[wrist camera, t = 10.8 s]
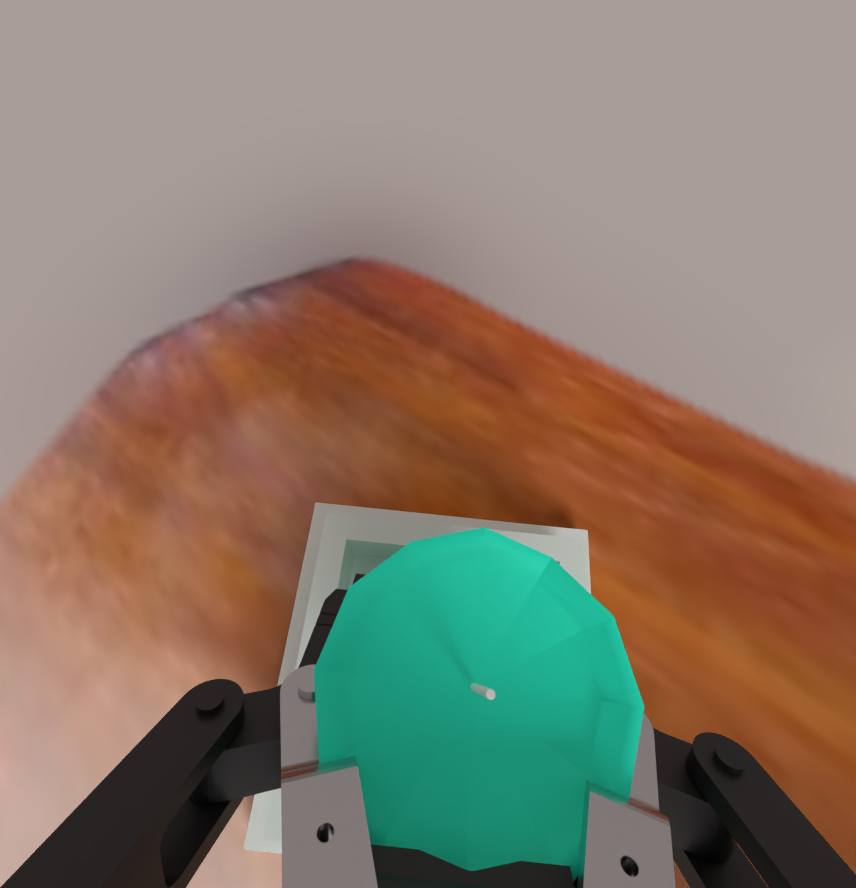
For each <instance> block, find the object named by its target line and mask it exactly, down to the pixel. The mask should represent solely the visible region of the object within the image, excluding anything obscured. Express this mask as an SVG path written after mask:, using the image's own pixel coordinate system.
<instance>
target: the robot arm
mask: <svg viewBox="0 0 856 888" xmlns="http://www.w3.org/2000/svg"><path fill="white" fill-rule="evenodd" d="M365 575H366V574H358V573H356V575H355V578H354V581H353V584H354V583H355V582H357V581H358V580H360V579H361V578H362V577H364V576H365ZM353 584H352V585H353ZM346 593H347V590H345V589H335V590H334V591H333V592H332V593H331V594H330V595H329V596H328V597H327V598H326V599H325V601H324V603H323V606H322V608H321V611H320V615H319V616H318V619H317V621H316V625H315V626H314V629H313V632H312V634H311V637H310V639H309V642H308V644H307V647H306V650H305V652H304V655H303V657H302V660H301V663H300V665H299V667H298V669H296V670H294V671H293V672H291V673H290V674H289V675H288V676H287V677H286V678H285V680H284V681H283V683H282V684H281V685H279V686H277V687H274V688H272V689H268V690H263V691H258V692H252V693H247V694H243V691H242V689H241V687H240V686H239V685H238V684H237V683H235V682H233V681H231V680H227V679H215V680H210V681H206V682H204V683H201V684H199V685H197V686H195V687H194V688H192V689H191V690H190V691H188V692H187V693H186V694H185V695H184V696H183V697H182V698H181V699H180V700H179V701H178V702H177V703H176V705H175V706H174V707H173V708H172V709H171V710H170V711H169V712H168V713H167V714H166V715H165V716H164V717H163V718H162V719H161V720H160V721H159V722H158V723H157V724H156V725H155V726H154V728H153V729H152V730H151V731H150V732H149V733H148V734H147V735H146V736H145V737H144V738H143V739H142V740H141V741H140V742H139V743H138V744H137V745H136V746H135V747H134V748H133V749H132V751H131V752H130V753H129V754H128V755H127V756H126V757H125V758H124V759H123V760H122V761H121V762H120V763H119V764H118V765H117V766H116V767H115V768H114V769H113V770H112V771H111V772H110V774H109V775H108V776H107V777H106V778H105V779H104V780H103V781H102V782H101V783H100V784H99V785H98V786H97V787H96V788H95V789H94V790H93V791H92V792H91V793H90V794H89V795H88V797H87V798H86V799H85V800H84V801H83V802H82V803H81V804H80V805H79V806H78V807H77V808H76V809H75V810H74V811H73V812H72V813H71V814H70V815H69V816H68V817H67V818H66V820H65V821H64V822H63V823H62V824H61V825H60V826H59V827H58V828H57V829H56V830H55V831H54V832H53V833H52V834H51V835H50V836H49V837H48V838H47V839H46V840H45V841H44V843H43V844H42V845H41V846H40V847H39V848H38V849H37V850H36V851H35V852H34V853H33V854H32V855H31V856H30V857H29V858H28V859H27V860H26V861H25V862H24V863H23V864H22V866H21V867H20V868H19V869H18V870H17V871H16V872H15V873H14V874H13V875H12V876H11V877H10V878H9V879H8V880H7V881H6V882H5V883H4V884H3V885H2V886H1V887H0V888H186V886H187V885H188V883H189V882H190V880H191V879H192V877H193V876H194V874H195V872H196V871H197V869H198V868H199V866H200V865H201V863H202V862H203V860H204V858H205V857H206V855H207V854H208V852H209V851H210V849H211V848H212V846H213V845H214V843H215V841H216V840H217V838H218V837H219V835H220V834H221V832H222V831H223V829H224V828H225V826H226V824H227V823H228V821H229V820H230V818H231V817H232V815H233V814H234V812H235V810H236V809H237V807H238V806H239V804H240V803H241V801H242V800H243V798H244V797H246V796H250V795H255V794H259V793H263V792H267V791H271V790H275V789H279V788H281V821H282V888H676V887H675V875H674V864H673V859H674V861H675V862H676V864H677V866H678V867H679V869H680V871H681V872H682V874H683V876H684V878H685V879H686V881H687V883H688V884H689V886H690V888H768V887H769V888H856V875H855V874H854V872H853V871H852V870H851V869H850V868H849V867H848V866H847V864H846V863H845V862H844V861H843V860H842V859H841V857H840V856H839V855H838V854H837V853H836V852H835V851H834V849H833V848H832V847H831V846H830V845H829V844H828V842H827V841H826V840H825V839H824V838H823V837H822V836H821V834H820V833H819V832H818V831H817V830H816V829H815V828H814V826H813V825H812V824H811V823H810V822H809V821H808V819H807V818H806V817H805V816H804V815H803V814H802V813H801V811H800V810H799V809H798V808H797V807H796V806H795V805H794V803H793V802H792V801H791V800H790V799H789V798H788V796H787V795H786V794H785V793H784V792H783V791H782V790H781V788H780V787H779V786H778V785H777V784H776V783H775V782H774V780H773V779H772V778H771V777H770V776H769V775H768V773H767V772H766V771H765V770H764V769H763V768H762V767H761V765H760V764H759V763H758V762H757V761H756V760H755V758H754V757H753V756H752V755H751V754H750V753H749V752H748V751H747V750H745V749H744V748H743V747H742V746H740V745H739V744H738V743H736V742H734V741H733V740H731V739H729V738H727V737H725V736H722V735H720V734H716V733H709V732H708V733H701V734H699V735H697V736H696V737H695V739H694V741H693V743H692V744H690V743H687V742H685V741H682V740H680V739H677V738H674V737H672V736H669V735H667V734H664V733H662V732H660V731H658V730H656V729H654V728H653V727H652V724H651V722H650V720H649V719H648V717H647V716H646V715H645V714H644V713H643V719H642V725H641V731H640V737H639V743H638V749H637V755H636V761H635V767H634V773H633V779H632V785H631V791H630V797H629V798H626V797H624V796H622V795H620V794H617V793H615V792H613V791H610V790H608V789H606V788H603V787H601V786H599V785H596V784H594V783H592V782H590V781H588V780H587V779H586V788H585V798H584V809H583V820H582V831H581V839H580V846H579V851H580V862H579V875H578V876H577V878H576V879H575V881H574V882H573V878H572V874H571V869H570V866H563V865H554V864H545V863H536V862H527V861H518V862H513V863H509V864H504V865H500V866H495V867H490V868H486V869H481V870H477V871H469V870H465V869H463V868H461V867H458V866H456V865H454V864H452V863H449V862H447V861H445V860H442V859H440V858H438V857H435V856H433V855H431V854H428V853H426V852H424V851H421V850H418V849H409V848H400V847H391V846H381V845H372V844H371V843H370V837H369V831H368V825H367V819H366V813H365V807H364V801H363V795H362V789H361V783H360V777H359V770H358V765H357V761H356V758H355V756H350V757H347V758H342V759H338V760H334V761H329V762H325V763H320V764H319V753H318V736H317V719H316V702H315V685H314V668H315V666H316V664H317V661H318V659H319V657H320V654H321V652H322V650H323V647H324V645H325V642H326V640H327V638H328V635H329V633H330V631H331V628H332V626H333V624H334V621H335V619H336V616H337V614H338V612H339V609H340V607H341V605H342V602H343V600H344V598H345V595H346ZM737 843H738V844H739V846H740V847H741V849H742V850H743V852H744V853H745V854H746V856H747V857H748V859H749V860H750V861H751V863H752V864H753V866H754V867H755V868H756V870H757V871H758V873H759V874H760V875H761V877H762V878H763V880H764V881H765V882H766V884H767V885H768V887H767V886H766V884H765V883H764V881H763V880H762V879H761V877H760V876H759V874H758V873H757V872H756V870H755V869H754V867H753V866H752V865H751V863H750V862H749V860H748V859H747V858H746V856H745V855H744V853H743V852H742V850H741V849H740V848H739V846H738V845H737Z"/></svg>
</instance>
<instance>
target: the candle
mask: <svg viewBox="0 0 856 888" xmlns="http://www.w3.org/2000/svg"><path fill="white" fill-rule="evenodd" d="M314 685H315V702H316V719H317V736H318V753H319V764H320V763H325V762H329V761H334V760H338V759H342V758H347V757H350V756H355V758H356V761H357V765H358V770H359V777H360V783H361V789H362V795H363V801H364V807H365V813H366V819H367V825H368V831H369V837H370V843H371V844H372V845H381V846H391V847H400V848H409V849H418V850H421V851H424V852H426V853H428V854H431V855H433V856H435V857H438V858H440V859H442V860H445V861H447V862H449V863H452V864H454V865H456V866H458V867H461V868H463V869H465V870H469V871H477V870H481V869H486V868H490V867H495V866H500V865H504V864H509V863H513V862H518V861H527V862H536V863H545V864H554V865H563V866H570V869H571V874H572V878H573V882H574V881H575V879H576V878H577V876H578V875H579V862H580V851H579V846H580V839H581V831H582V820H583V809H584V798H585V788H586V779H587V780H588V781H590V782H592V783H594V784H596V785H599V786H601V787H603V788H606V789H608V790H610V791H613V792H615V793H617V794H620V795H622V796H624V797H626V798H629V797H630V791H631V785H632V779H633V773H634V767H635V761H636V755H637V749H638V743H639V737H640V731H641V725H642V719H643V712H644V704H643V701H642V698H641V695H640V692H639V689H638V686H637V683H636V680H635V677H634V675H633V672H632V669H631V666H630V663H629V660H628V657H627V654H626V651H625V648H624V645H623V642H622V639H621V636H620V633H619V630H618V627H617V624H616V621H615V618H614V616H613V615H612V614H611V613H610V612H609V611H608V610H607V609H606V608H605V607H604V606H603V605H602V604H601V603H599V602H598V601H597V600H596V599H595V598H594V597H593V596H592V595H591V594H590V593H589V592H588V591H587V590H586V589H585V588H584V587H583V586H582V585H581V584H579V583H578V582H577V581H576V580H575V579H574V578H573V577H572V576H571V575H570V574H569V573H568V572H567V571H566V570H565V569H564V568H563V567H562V566H561V565H560V564H558V563H557V562H556V561H555V560H554V559H553V558H552V557H550V556H548V555H546V554H544V553H541V552H539V551H537V550H535V549H532V548H530V547H528V546H526V545H523V544H521V543H519V542H517V541H514V540H512V539H510V538H508V537H505V536H503V535H501V534H499V533H497V532H494V531H492V530H490V529H488V528H485V527H483V528H478V529H472V530H467V531H462V532H457V533H452V534H447V535H442V536H437V537H431V538H426V539H421V540H416V541H411V542H410V543H408V544H407V545H406V546H404V547H403V548H402V549H400V550H399V551H398V552H396V553H395V554H393V555H392V556H391V557H389V558H388V559H387V560H385V561H384V562H383V563H381V564H380V565H379V566H377V567H376V568H374V569H373V570H372V571H370V572H369V573H368V574H366V575H365V576H364V577H362V578H361V579H360V580H358V581H357V582H355V583H354V584H353V585H351V586H350V587H349V588H348V590H347V593H346V595H345V598H344V600H343V602H342V605H341V607H340V609H339V612H338V614H337V616H336V619H335V621H334V624H333V626H332V628H331V631H330V633H329V635H328V638H327V640H326V642H325V645H324V647H323V650H322V652H321V654H320V657H319V659H318V661H317V664H316V666H315V668H314Z"/></svg>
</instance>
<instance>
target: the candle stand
mask: <svg viewBox="0 0 856 888" xmlns="http://www.w3.org/2000/svg"><path fill="white" fill-rule="evenodd" d="M483 527H485V528H488V529H490V530H492V531H494V532H497V533H499V534H501V535H503V536H505V537H508V538H510V539H512V540H514V541H517V542H519V543H521V544H523V545H526V546H528V547H530V548H532V549H535V550H537V551H539V552H541V553H544V554H546V555H548V556H550V557H552V558H553V559H554V560H555V561H556V562H557V563H558V564H560V565H561V566H562V567H563V568H564V569H565V570H566V571H567V572H568V573H569V574H570V575H571V576H572V577H573V578H574V579H575V580H576V581H577V582H578V583H579V584H581V585H582V586H583V587H584V588H585V589H586V590H587V591H588V592H589V593H590V594H591V586H590V567H589V548H588V530H580V529H571V528H561V527H551V526H542V525H532V524H522V523H512V522H503V521H493V520H483V519H473V518H464V517H454V516H444V515H435V514H425V513H415V512H405V511H396V510H386V509H376V508H366V507H357V506H347V505H337V504H327V503H318V502H315V507H314V512H313V517H312V521H311V526H310V531H309V536H308V541H307V545H306V550H305V555H304V560H303V565H302V569H301V574H300V579H299V584H298V589H297V593H296V598H295V603H294V608H293V613H292V618H291V622H290V627H289V632H288V637H287V642H286V646H285V651H284V656H283V661H282V666H281V670H280V675H279V680H278V685H277V686H279V685H281V684H282V683H283V681H284V680H285V678H286V677H287V676H288V675H289V674H290V673H291V672H293V671H294V670H296V669H298V667H299V665H300V663H301V660H302V657H303V655H304V652H305V650H306V647H307V644H308V642H309V639H310V637H311V634H312V632H313V629H314V626H315V625H316V621H317V619H318V616H319V615H320V611H321V608H322V606H323V603H324V601H325V599H326V598H327V597H328V596H329V595H330V594H331V593H332V592H333V591H334V590H335V589H345V590H348V588H349V587H350V586H351V585H352V584H353V581H354V578H355V575H356V573H358V574H368V573H369V572H370V571H372V570H373V569H374V568H376V567H377V566H379V565H380V564H381V563H383V562H384V561H385V560H387V559H388V558H389V557H391V556H392V555H393V554H395V553H396V552H398V551H399V550H400V549H402V548H403V547H404V546H406V545H407V544H408V543H410V542H411V541H416V540H421V539H426V538H431V537H437V536H442V535H447V534H452V533H457V532H462V531H467V530H472V529H478V528H483ZM243 849H244V850H253V851H262V852H271V853H280V854H282V821H281V788H279V789H275V790H271V791H267V792H263V793H259V794H255V795H254V800H253V805H252V810H251V815H250V819H249V824H248V829H247V834H246V839H245V843H244V848H243Z"/></svg>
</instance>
